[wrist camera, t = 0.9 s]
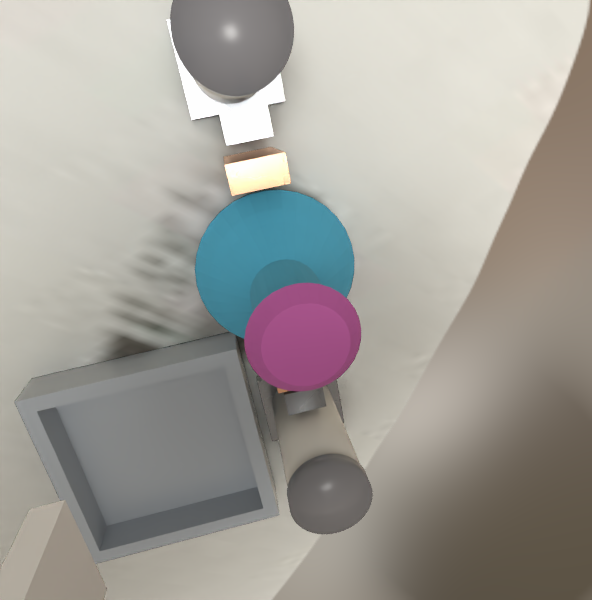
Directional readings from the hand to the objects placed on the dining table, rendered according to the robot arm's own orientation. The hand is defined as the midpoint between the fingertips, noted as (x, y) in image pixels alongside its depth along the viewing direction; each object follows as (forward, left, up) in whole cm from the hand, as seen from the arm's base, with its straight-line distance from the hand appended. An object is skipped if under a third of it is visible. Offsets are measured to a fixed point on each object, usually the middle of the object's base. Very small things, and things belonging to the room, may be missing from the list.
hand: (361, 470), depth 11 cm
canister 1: (0, +11, -22) cm, 24 cm away
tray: (-11, -12, -22) cm, 28 cm away
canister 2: (0, -12, -22) cm, 25 cm away
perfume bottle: (0, 0, -23) cm, 23 cm away
